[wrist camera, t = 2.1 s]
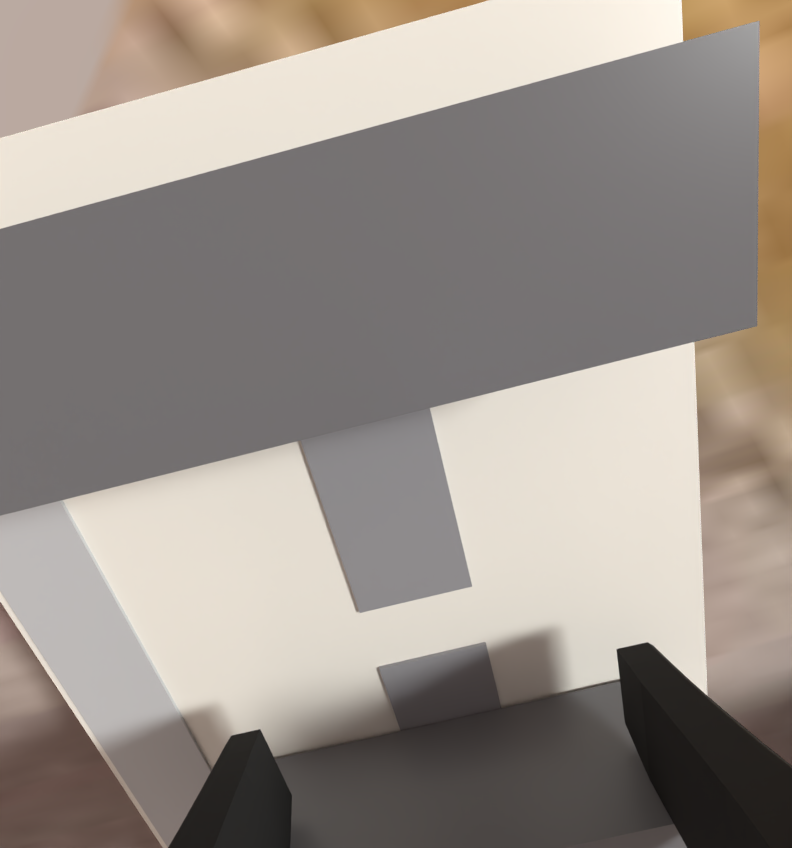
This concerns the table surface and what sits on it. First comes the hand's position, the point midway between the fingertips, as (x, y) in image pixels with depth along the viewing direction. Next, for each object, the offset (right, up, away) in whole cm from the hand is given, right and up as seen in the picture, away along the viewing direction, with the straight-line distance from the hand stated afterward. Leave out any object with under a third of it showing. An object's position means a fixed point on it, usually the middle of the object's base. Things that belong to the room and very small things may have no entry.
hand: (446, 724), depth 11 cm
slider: (-2, +8, -2) cm, 9 cm away
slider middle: (+1, -2, +2) cm, 3 cm away
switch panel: (0, -2, +5) cm, 5 cm away
